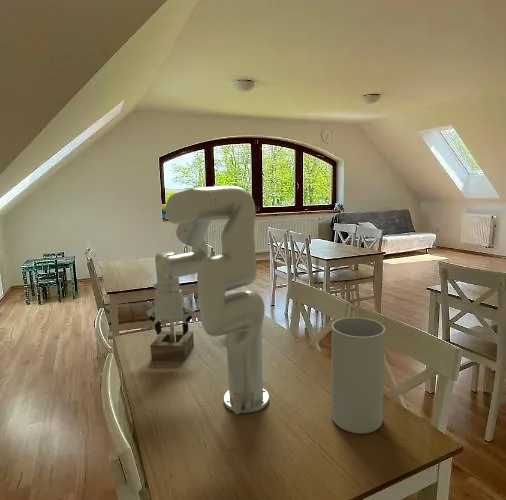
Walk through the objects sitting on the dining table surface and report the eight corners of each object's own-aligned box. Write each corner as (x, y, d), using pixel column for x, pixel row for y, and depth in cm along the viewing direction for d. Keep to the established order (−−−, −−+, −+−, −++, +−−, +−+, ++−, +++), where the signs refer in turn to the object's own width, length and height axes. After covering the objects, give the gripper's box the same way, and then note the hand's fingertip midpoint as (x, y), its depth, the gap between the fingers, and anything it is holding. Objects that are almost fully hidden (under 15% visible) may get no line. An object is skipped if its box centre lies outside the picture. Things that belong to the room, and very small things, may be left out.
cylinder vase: (344, 399, 107) (345, 314, 102) (389, 416, 99) (393, 324, 94) (322, 422, 97) (322, 329, 93) (370, 442, 89) (372, 341, 85)
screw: (171, 356, 136) (164, 352, 140) (183, 352, 139) (176, 348, 143) (168, 322, 133) (162, 318, 137) (180, 318, 136) (174, 315, 140)
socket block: (185, 360, 133) (184, 345, 132) (151, 359, 134) (150, 345, 133) (193, 345, 145) (193, 331, 144) (162, 345, 146) (161, 331, 145)
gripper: (140, 290, 132) (145, 337, 135) (189, 290, 130) (193, 337, 133) (148, 284, 139) (152, 329, 143) (195, 284, 138) (198, 329, 141)
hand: (172, 333), depth 138 cm, fingers open, 9 cm apart
